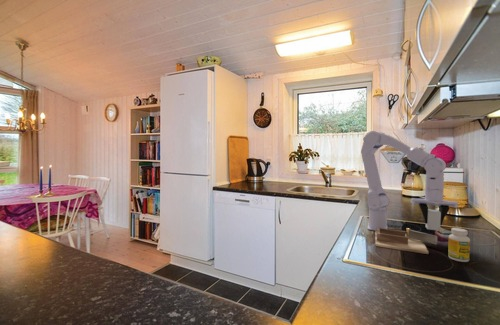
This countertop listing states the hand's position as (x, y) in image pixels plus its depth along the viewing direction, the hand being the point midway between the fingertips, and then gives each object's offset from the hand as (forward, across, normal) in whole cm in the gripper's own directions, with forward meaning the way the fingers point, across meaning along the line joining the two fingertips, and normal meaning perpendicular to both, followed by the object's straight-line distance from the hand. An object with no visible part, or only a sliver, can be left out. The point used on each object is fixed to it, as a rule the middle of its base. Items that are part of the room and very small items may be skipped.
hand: (432, 223), depth 98 cm
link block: (+2, 0, 0) cm, 2 cm away
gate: (+6, -5, -6) cm, 9 cm away
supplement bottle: (+7, +4, -17) cm, 19 cm away
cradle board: (+7, -12, -8) cm, 16 cm away
